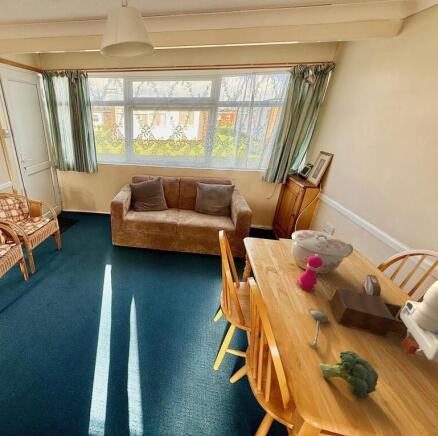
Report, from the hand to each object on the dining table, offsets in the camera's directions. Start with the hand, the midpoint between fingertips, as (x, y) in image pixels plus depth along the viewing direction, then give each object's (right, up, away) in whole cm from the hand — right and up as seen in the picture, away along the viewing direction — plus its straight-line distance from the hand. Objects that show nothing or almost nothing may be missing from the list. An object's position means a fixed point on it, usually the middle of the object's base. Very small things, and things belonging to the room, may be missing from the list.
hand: (413, 347), depth 83 cm
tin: (+14, +9, +31) cm, 35 cm away
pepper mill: (-15, +11, +36) cm, 40 cm away
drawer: (+6, +2, +13) cm, 14 cm away
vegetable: (-31, -8, -6) cm, 33 cm away
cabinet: (-5, +3, +18) cm, 19 cm away
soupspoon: (-26, 0, +13) cm, 29 cm away
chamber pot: (0, +19, +52) cm, 55 cm away
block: (0, -2, +1) cm, 2 cm away
